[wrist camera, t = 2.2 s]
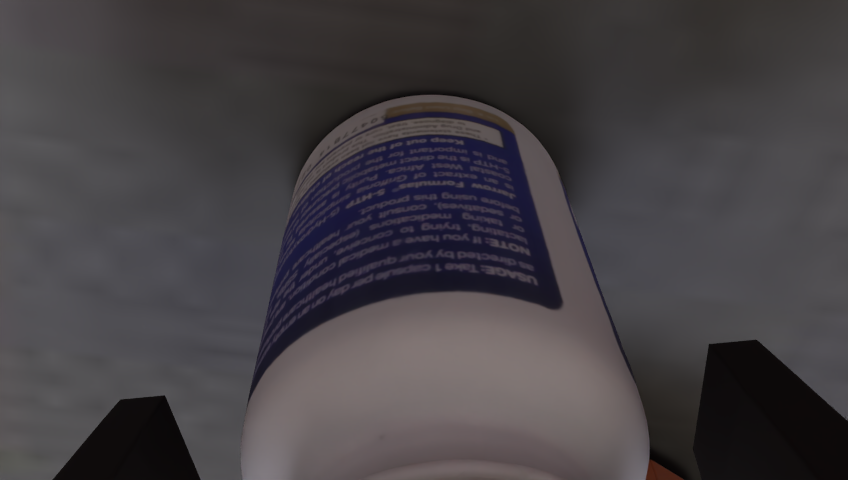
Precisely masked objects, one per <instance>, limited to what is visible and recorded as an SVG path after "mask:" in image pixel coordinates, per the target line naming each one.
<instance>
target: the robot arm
mask: <svg viewBox="0 0 848 480" xmlns="http://www.w3.org/2000/svg"><path fill="white" fill-rule="evenodd" d="M693 451H694V454H695V458H696V461H697V464H698V468H699V471H700V474H701V478H702V480H848V421H847V420H846V419H845V418H844V417H842V416H841V415H840V414H839V413H838V412H837V411H836V410H835V409H833V408H832V407H831V406H830V405H829V404H828V403H827V402H826V401H824V400H823V399H822V398H821V397H820V396H819V395H818V394H817V393H815V392H814V391H813V390H812V389H811V388H810V387H809V386H808V385H807V384H805V383H804V382H803V381H802V380H801V379H800V378H799V377H798V376H797V375H796V374H794V373H793V372H792V371H791V370H790V369H789V368H788V367H787V366H786V365H784V364H783V363H782V362H781V361H780V360H779V359H778V358H777V357H776V356H774V355H773V354H772V353H771V352H770V351H769V350H768V349H766V348H765V347H764V346H763V345H762V344H761V343H760V342H758V341H757V340H749V341H738V342H728V343H717V344H709V348H708V354H707V361H706V367H705V374H704V381H703V387H702V394H701V400H700V407H699V413H698V420H697V426H696V433H695V439H694V446H693ZM53 480H200V477H199V475H198V473H197V470H196V468H195V465H194V463H193V461H192V458H191V456H190V454H189V451H188V449H187V447H186V444H185V442H184V439H183V437H182V435H181V432H180V430H179V428H178V425H177V423H176V421H175V418H174V416H173V413H172V411H171V409H170V406H169V404H168V402H167V399H166V397H165V396H155V397H144V398H133V399H123V400H120V401H119V402H118V403H117V404H116V405H115V406H114V408H113V409H112V410H111V411H110V412H109V413H108V415H107V416H106V417H105V418H104V419H103V420H102V422H101V423H100V424H99V425H98V426H97V428H96V429H95V430H94V431H93V432H92V433H91V435H90V436H89V437H88V438H87V439H86V441H85V442H84V443H83V444H82V445H81V447H80V448H79V449H78V450H77V451H76V453H75V454H74V455H73V456H72V457H71V459H70V460H69V461H68V462H67V463H66V465H65V466H64V467H63V468H62V469H61V470H60V472H59V473H58V474H57V475H56V476H55V478H54V479H53Z"/></svg>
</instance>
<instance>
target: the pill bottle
mask: <svg viewBox="0 0 848 480" xmlns="http://www.w3.org/2000/svg"><path fill="white" fill-rule="evenodd" d="M649 455H650V439H649V432H648V424H647V419H646V415H645V411H644V407H643V404H642V401H641V398H640V395H639V392H638V388H637V385H636V382H635V379H634V376H633V373H632V370H631V367H630V364H629V362H628V360H627V357H626V355H625V352H624V350H623V347H622V344H621V341H620V339H619V336H618V334H617V331H616V328H615V326H614V323H613V320H612V318H611V315H610V313H609V310H608V308H607V306H606V303H605V300H604V297H603V295H602V292H601V289H600V287H599V284H598V281H597V278H596V275H595V273H594V270H593V267H592V264H591V261H590V259H589V256H588V253H587V250H586V247H585V245H584V242H583V239H582V236H581V233H580V230H579V227H578V225H577V222H576V219H575V216H574V213H573V210H572V207H571V204H570V201H569V198H568V195H567V192H566V190H565V187H564V185H563V182H562V180H561V178H560V175H559V173H558V170H557V168H556V166H555V164H554V162H553V161H552V159H551V157H550V156H549V154H548V152H547V151H546V150H545V148H544V147H543V146H542V144H541V143H540V142H539V141H538V139H537V138H536V137H535V136H534V135H533V134H532V133H531V132H530V131H529V130H528V129H527V128H526V127H524V126H523V125H522V124H520V123H519V122H518V121H516V120H515V119H513V118H512V117H510V116H509V115H507V114H505V113H504V112H502V111H500V110H498V109H496V108H494V107H491V106H489V105H486V104H484V103H480V102H477V101H474V100H470V99H465V98H460V97H455V96H446V95H416V96H408V97H402V98H398V99H393V100H389V101H385V102H383V103H380V104H377V105H374V106H372V107H370V108H367V109H365V110H363V111H361V112H359V113H357V114H355V115H354V116H352V117H351V118H349V119H347V120H346V121H344V122H343V123H342V124H340V125H339V126H337V127H336V128H335V129H334V130H333V131H331V132H330V133H329V134H328V135H327V136H326V137H325V138H324V139H323V140H322V141H321V142H320V143H319V144H318V146H317V147H316V148H315V150H314V151H313V152H312V154H311V155H310V156H309V158H308V160H307V162H306V163H305V165H304V167H303V168H302V170H301V173H300V175H299V178H298V180H297V183H296V186H295V189H294V193H293V197H292V201H291V205H290V210H289V214H288V219H287V223H286V228H285V233H284V237H283V241H282V246H281V251H280V255H279V260H278V264H277V269H276V274H275V278H274V283H273V288H272V292H271V297H270V302H269V307H268V311H267V316H266V321H265V325H264V330H263V335H262V339H261V344H260V348H259V353H258V357H257V362H256V366H255V371H254V375H253V380H252V385H251V389H250V394H249V399H248V404H247V410H246V415H245V420H244V426H243V432H242V440H241V452H240V458H241V471H242V479H243V480H646V475H647V470H648V465H649Z"/></svg>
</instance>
